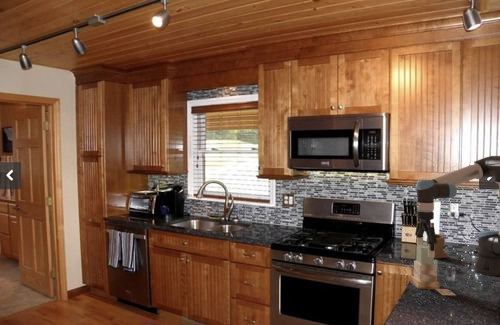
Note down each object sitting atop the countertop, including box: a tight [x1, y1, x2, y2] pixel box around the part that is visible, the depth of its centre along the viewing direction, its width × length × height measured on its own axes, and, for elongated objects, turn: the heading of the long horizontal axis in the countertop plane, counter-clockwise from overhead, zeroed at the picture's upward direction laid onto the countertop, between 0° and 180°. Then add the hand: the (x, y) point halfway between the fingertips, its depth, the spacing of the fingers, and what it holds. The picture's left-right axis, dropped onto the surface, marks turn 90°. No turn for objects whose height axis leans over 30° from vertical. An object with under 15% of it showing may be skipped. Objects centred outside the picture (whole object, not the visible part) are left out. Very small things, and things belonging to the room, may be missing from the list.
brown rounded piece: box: [426, 233, 450, 259], centre depth 244 cm, size 15×12×15 cm
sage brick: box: [415, 244, 435, 265], centre depth 190 cm, size 6×6×8 cm
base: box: [409, 275, 441, 290], centre depth 190 cm, size 11×11×3 cm
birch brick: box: [413, 260, 438, 282], centre depth 190 cm, size 8×8×8 cm
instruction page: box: [434, 288, 456, 296], centre depth 180 cm, size 6×8×1 cm
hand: (425, 253), depth 190 cm, fingers open, 13 cm apart
